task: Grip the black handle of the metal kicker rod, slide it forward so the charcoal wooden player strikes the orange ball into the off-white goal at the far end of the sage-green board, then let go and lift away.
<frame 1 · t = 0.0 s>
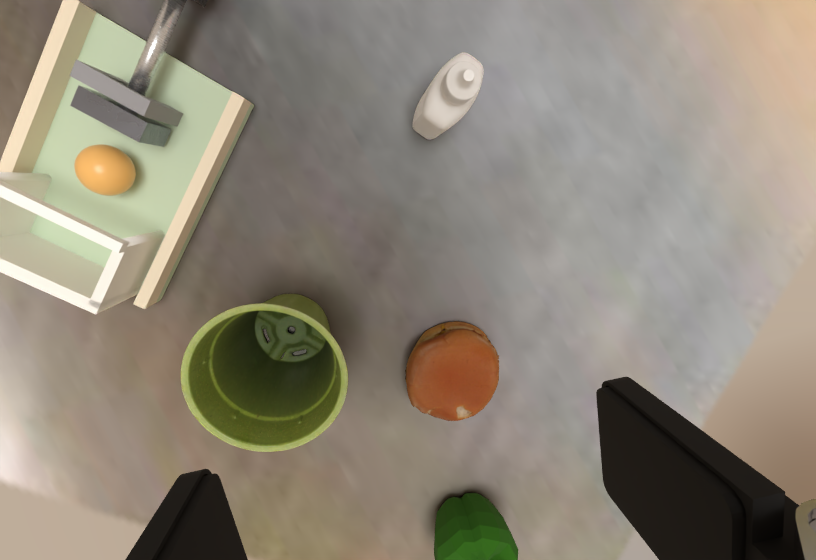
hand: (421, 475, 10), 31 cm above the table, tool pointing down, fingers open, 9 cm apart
bell pepper: (462, 510, 48), on the table
plant pot 2: (292, 328, 41), on the table
eye dropper bottle: (436, 109, 38), on the table
pitch: (129, 166, 36), on the table
ball: (106, 170, 33), point 3 cm above the table, touching pitch
kicker: (149, 35, 30), point 5 cm above the table, slide at 0.0 cm
burger: (448, 362, 44), on the table
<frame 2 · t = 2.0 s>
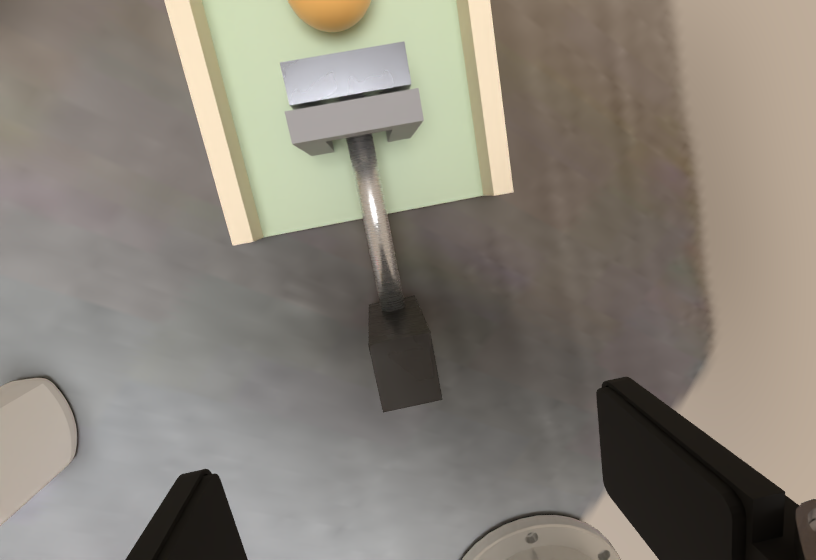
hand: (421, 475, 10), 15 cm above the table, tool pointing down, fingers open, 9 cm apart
eye dropper bottle: (48, 418, 24), on the table
pitch: (335, 19, 21), on the table
kicker: (377, 228, 19), point 5 cm above the table, slide at 0.0 cm
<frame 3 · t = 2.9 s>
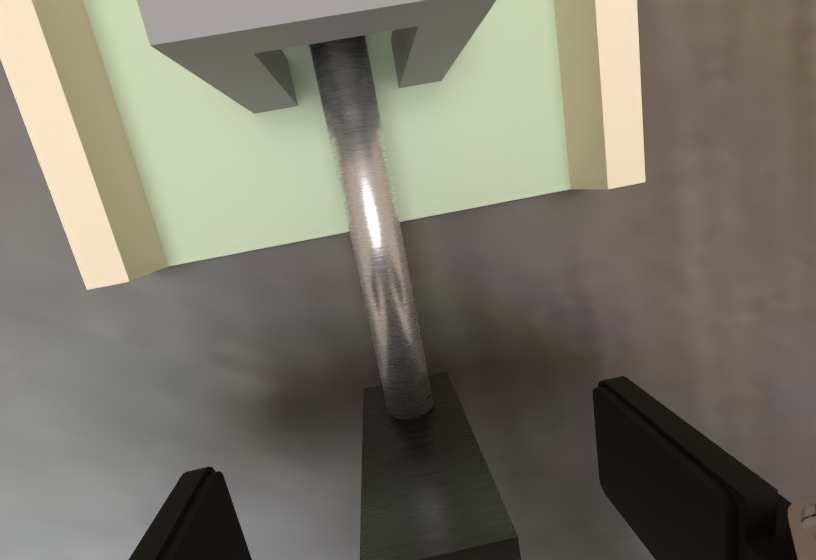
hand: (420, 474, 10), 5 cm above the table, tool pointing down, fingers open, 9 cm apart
kicker: (380, 259, 9), point 5 cm above the table, slide at 0.0 cm
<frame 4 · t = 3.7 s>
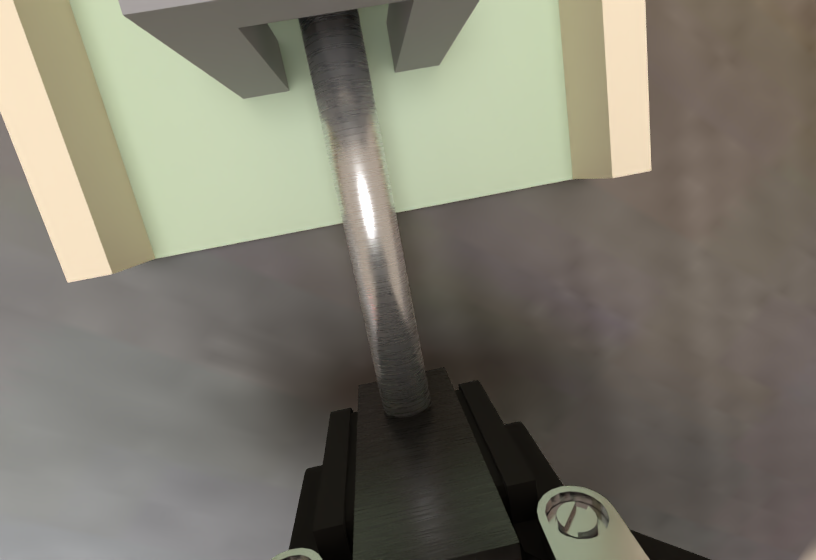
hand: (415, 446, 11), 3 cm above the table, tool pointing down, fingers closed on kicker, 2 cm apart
kicker: (375, 250, 8), point 5 cm above the table, slide at 0.0 cm, touching gripper
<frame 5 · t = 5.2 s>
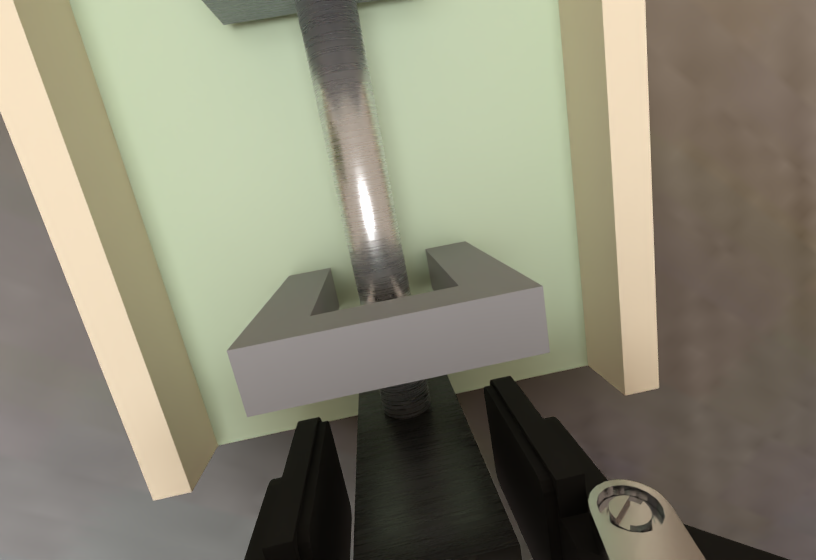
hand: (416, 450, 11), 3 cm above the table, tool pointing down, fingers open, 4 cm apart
pitch: (341, 74, 12), on the table
kicker: (375, 252, 8), point 5 cm above the table, slide at 5.9 cm
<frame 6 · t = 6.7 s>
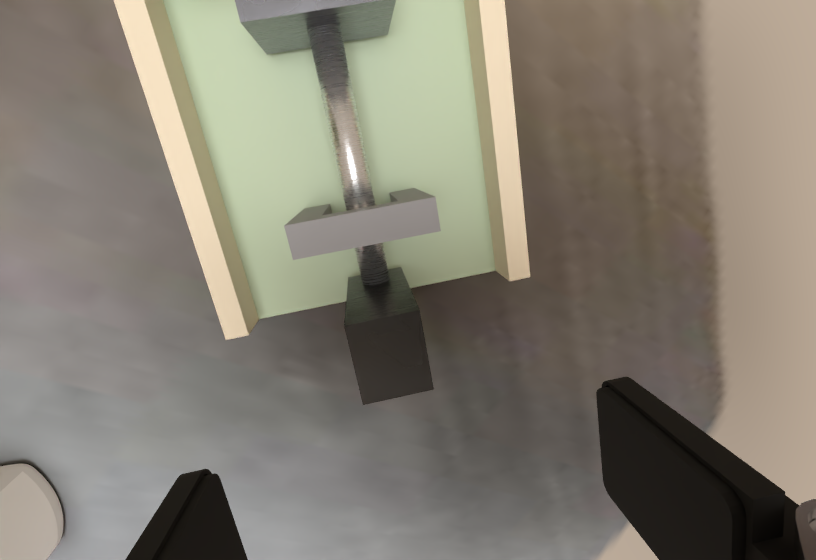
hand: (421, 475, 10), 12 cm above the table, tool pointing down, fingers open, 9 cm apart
eye dropper bottle: (30, 500, 23), on the table
pitch: (335, 81, 19), on the table
kicker: (355, 185, 15), point 5 cm above the table, slide at 5.9 cm
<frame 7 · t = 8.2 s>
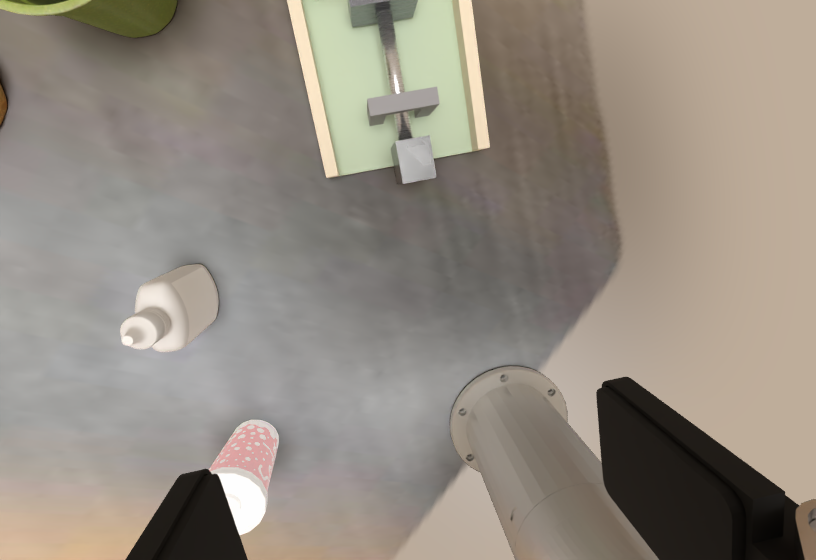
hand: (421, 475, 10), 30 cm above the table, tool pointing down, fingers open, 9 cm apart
beverage cup: (256, 438, 43), on the table
eye dropper bottle: (200, 292, 39), on the table
pitch: (384, 43, 35), on the table
kicker: (398, 86, 32), point 5 cm above the table, slide at 5.9 cm
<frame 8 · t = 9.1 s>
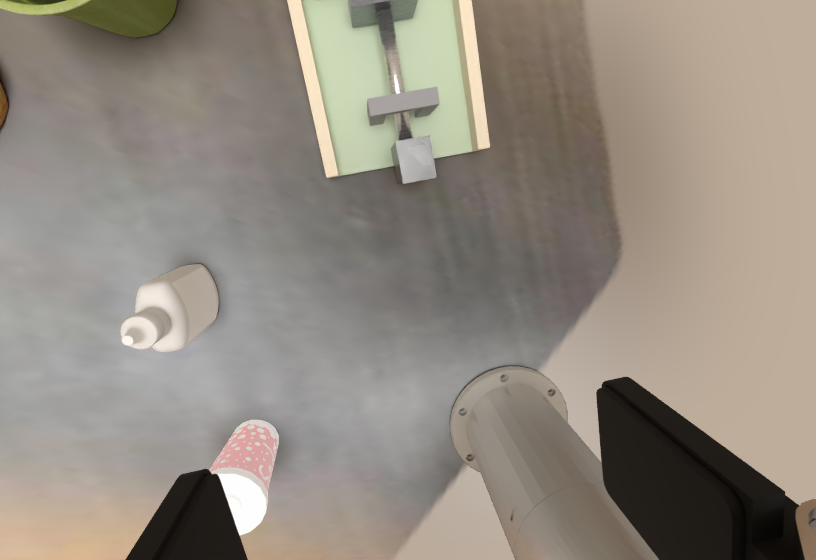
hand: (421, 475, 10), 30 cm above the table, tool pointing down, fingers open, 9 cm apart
beverage cup: (256, 438, 43), on the table
eye dropper bottle: (200, 292, 39), on the table
pitch: (384, 43, 35), on the table
kicker: (398, 86, 32), point 5 cm above the table, slide at 5.9 cm
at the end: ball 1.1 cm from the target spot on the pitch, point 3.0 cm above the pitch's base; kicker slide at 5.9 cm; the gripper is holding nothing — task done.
